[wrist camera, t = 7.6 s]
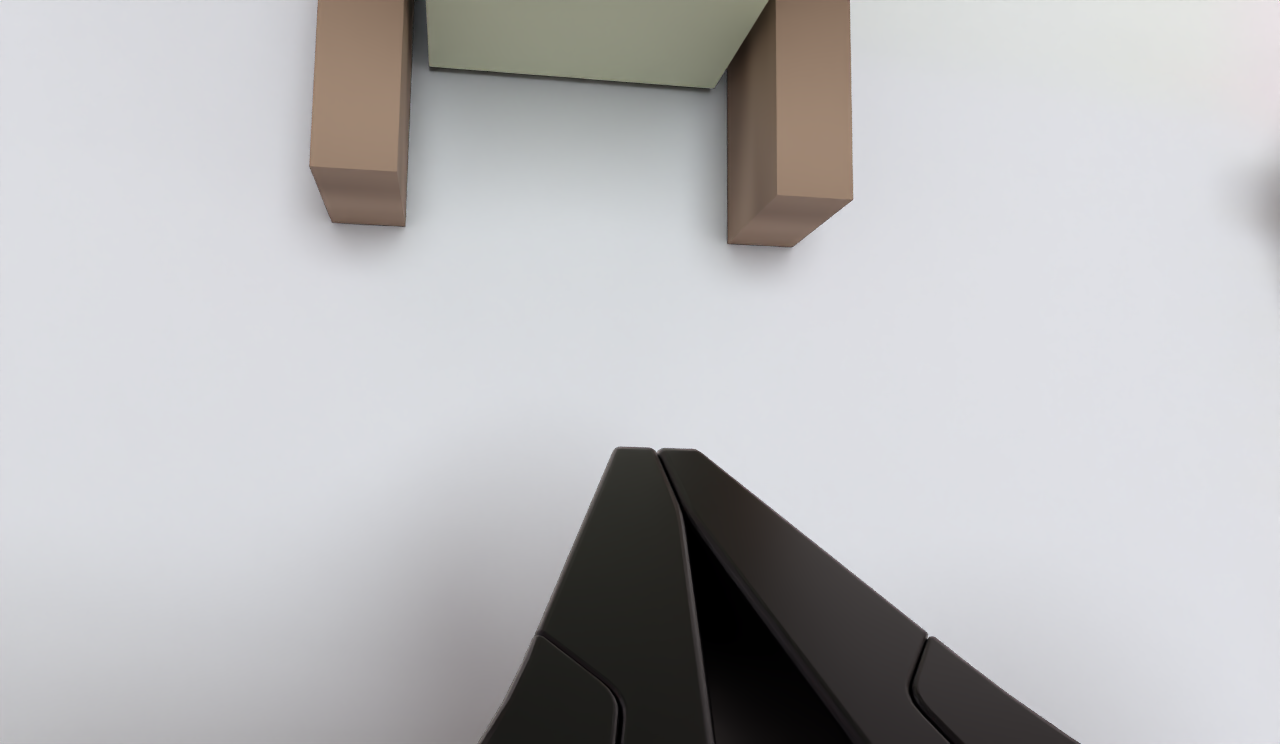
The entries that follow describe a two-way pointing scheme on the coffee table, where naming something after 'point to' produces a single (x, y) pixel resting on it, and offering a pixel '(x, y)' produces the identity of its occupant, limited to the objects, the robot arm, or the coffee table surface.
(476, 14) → the pale green block
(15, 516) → the coffee table surface
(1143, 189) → the coffee table surface
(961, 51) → the coffee table surface
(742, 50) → the walnut console
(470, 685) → the coffee table surface
